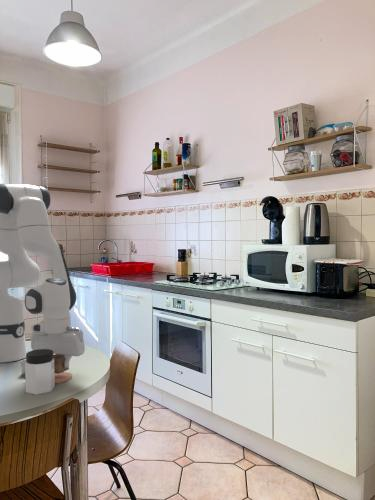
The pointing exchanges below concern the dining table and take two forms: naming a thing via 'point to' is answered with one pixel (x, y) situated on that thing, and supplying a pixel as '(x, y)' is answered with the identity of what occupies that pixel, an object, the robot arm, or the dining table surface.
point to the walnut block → (59, 363)
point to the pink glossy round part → (62, 377)
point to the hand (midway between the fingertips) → (58, 366)
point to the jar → (39, 371)
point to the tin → (23, 367)
